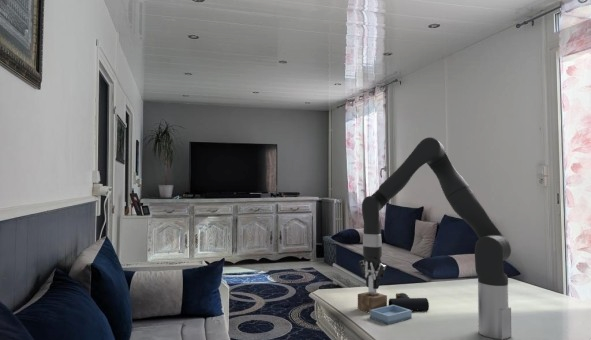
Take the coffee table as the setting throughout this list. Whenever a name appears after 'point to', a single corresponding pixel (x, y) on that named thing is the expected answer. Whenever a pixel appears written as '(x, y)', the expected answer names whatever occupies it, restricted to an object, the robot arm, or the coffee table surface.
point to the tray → (390, 314)
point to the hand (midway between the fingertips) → (372, 287)
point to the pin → (371, 286)
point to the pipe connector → (410, 302)
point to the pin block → (371, 301)
